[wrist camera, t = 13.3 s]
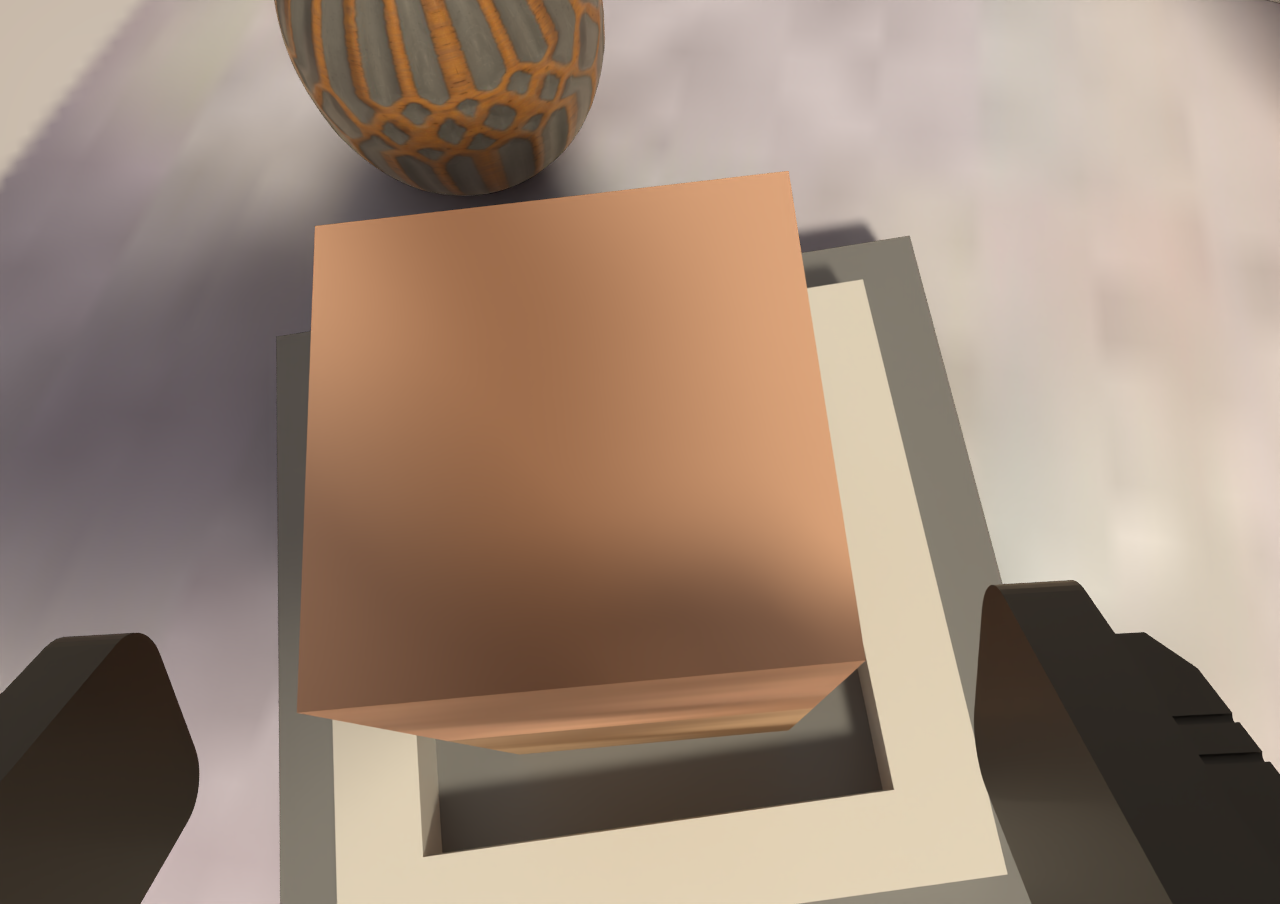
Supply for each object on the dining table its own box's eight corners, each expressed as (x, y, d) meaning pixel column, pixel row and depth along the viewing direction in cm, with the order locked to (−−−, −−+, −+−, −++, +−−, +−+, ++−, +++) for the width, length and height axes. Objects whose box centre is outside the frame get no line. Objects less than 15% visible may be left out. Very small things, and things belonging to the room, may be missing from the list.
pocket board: (897, 271, 22) (920, 203, 20) (1070, 939, 18) (1129, 965, 15) (303, 365, 23) (251, 310, 20) (316, 1043, 18) (248, 1085, 15)
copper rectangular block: (755, 472, 19) (788, 171, 10) (789, 730, 18) (865, 660, 8) (509, 497, 20) (315, 225, 10) (518, 754, 18) (296, 713, 9)
